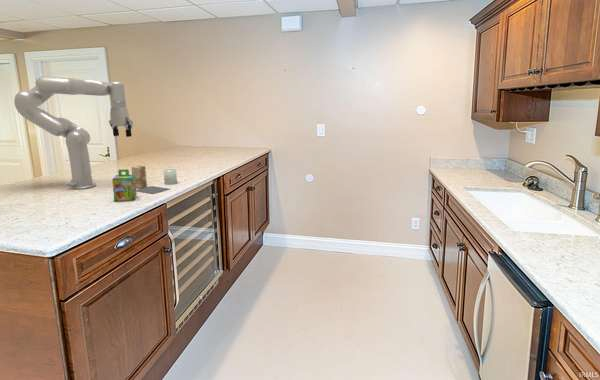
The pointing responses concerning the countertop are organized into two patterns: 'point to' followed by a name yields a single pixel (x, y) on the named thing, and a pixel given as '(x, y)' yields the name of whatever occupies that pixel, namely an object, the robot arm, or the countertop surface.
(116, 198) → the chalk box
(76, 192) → the countertop surface
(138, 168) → the block
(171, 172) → the white small cylinder
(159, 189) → the mat
